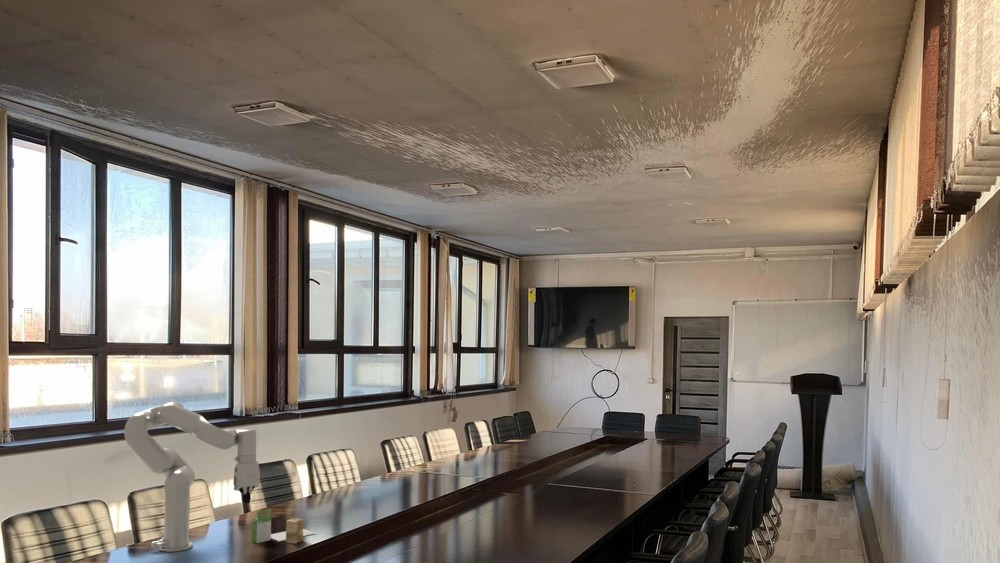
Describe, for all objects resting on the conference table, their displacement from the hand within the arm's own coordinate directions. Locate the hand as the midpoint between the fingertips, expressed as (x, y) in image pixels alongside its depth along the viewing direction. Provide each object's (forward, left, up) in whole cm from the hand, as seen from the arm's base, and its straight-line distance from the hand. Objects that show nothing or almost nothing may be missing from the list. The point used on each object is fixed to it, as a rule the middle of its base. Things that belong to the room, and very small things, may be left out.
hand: (246, 502), depth 315 cm
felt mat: (+22, 0, -17) cm, 28 cm away
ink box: (+8, 0, -18) cm, 19 cm away
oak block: (+18, -10, -17) cm, 26 cm away
